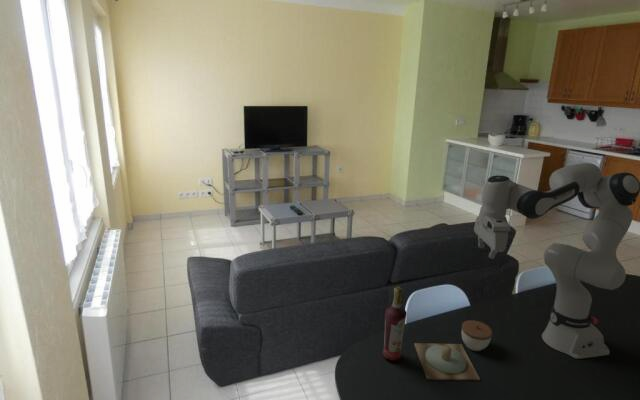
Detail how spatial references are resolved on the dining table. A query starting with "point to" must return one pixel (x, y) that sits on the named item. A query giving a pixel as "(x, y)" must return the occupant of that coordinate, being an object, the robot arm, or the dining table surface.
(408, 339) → the dining table surface
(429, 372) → the plate
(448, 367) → the lid
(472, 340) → the lidded jar
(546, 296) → the dining table surface
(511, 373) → the dining table surface
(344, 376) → the dining table surface
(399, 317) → the liquor
